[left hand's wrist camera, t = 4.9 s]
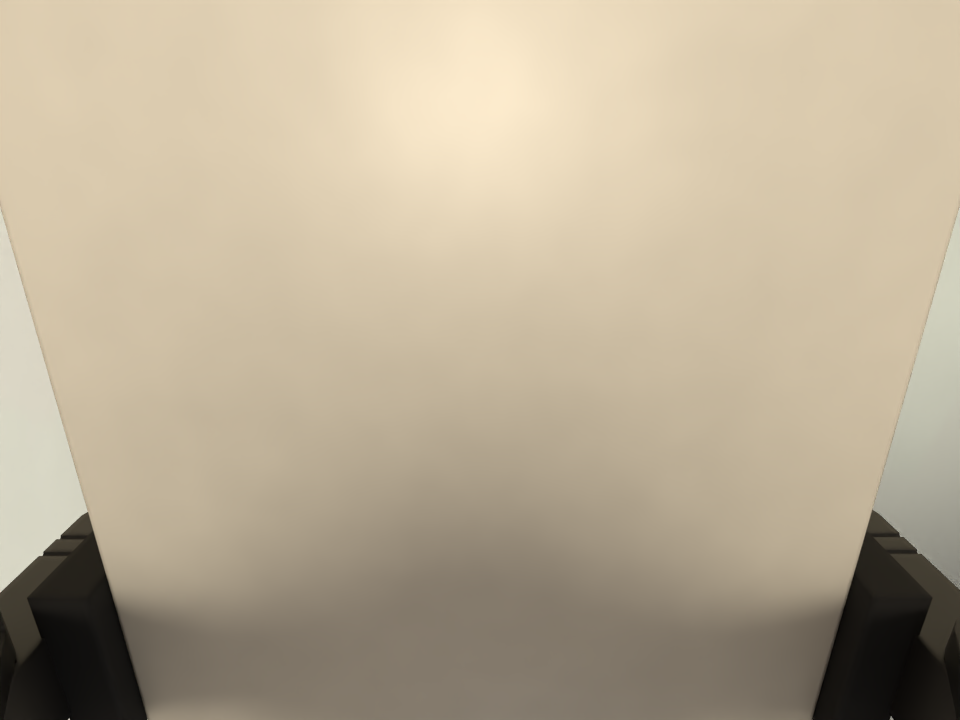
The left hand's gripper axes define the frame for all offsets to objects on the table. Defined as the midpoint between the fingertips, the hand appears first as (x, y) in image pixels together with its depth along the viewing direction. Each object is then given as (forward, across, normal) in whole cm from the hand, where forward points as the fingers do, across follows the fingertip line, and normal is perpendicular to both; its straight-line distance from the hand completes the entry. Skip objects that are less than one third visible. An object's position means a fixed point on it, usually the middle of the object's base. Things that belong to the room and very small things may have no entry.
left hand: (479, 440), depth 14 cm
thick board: (+1, 0, -28) cm, 28 cm away
